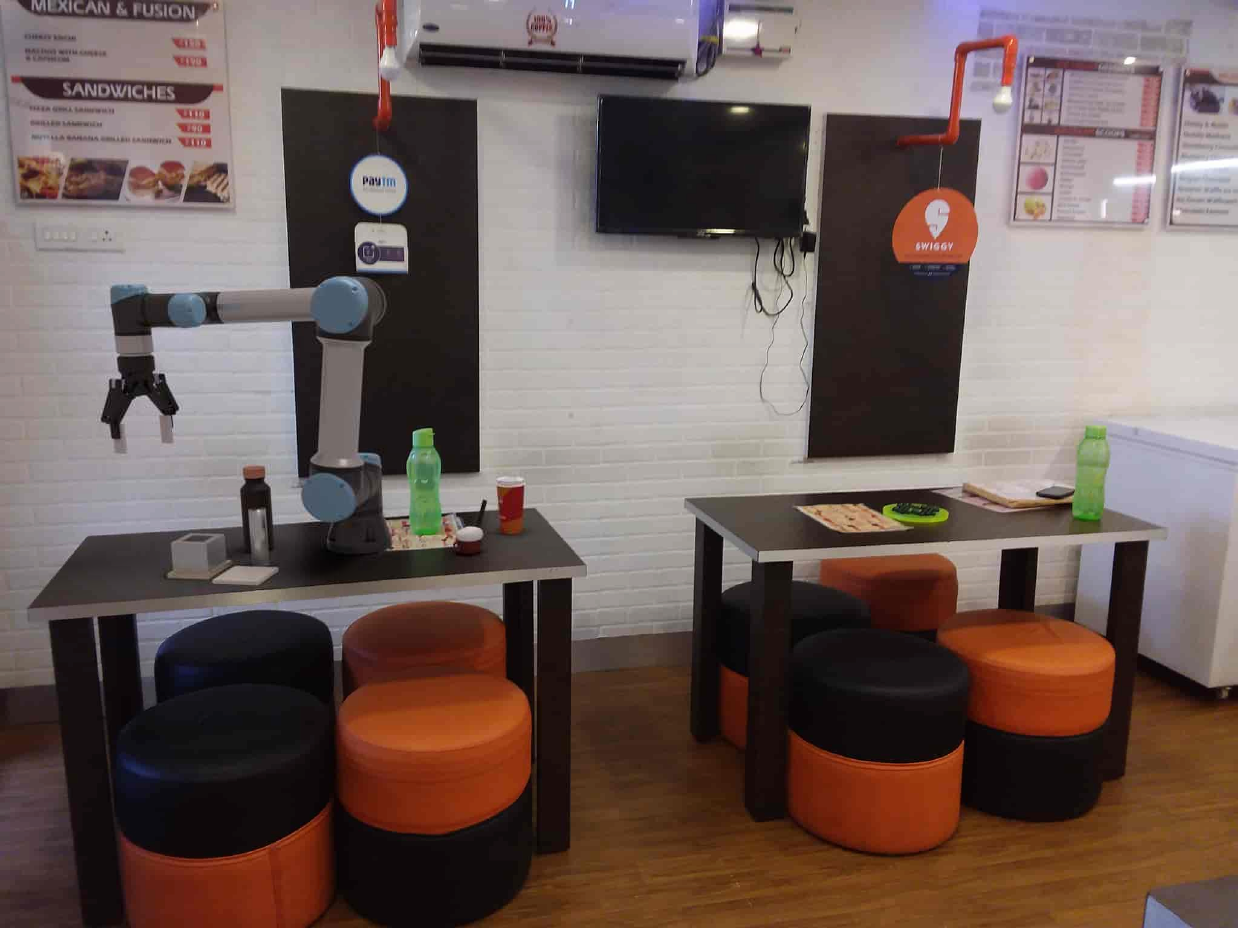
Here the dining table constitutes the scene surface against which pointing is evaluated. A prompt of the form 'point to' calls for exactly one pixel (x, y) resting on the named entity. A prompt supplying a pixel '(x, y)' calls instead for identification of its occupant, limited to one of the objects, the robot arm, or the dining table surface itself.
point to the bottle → (256, 502)
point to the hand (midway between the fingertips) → (145, 448)
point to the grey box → (198, 556)
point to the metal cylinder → (258, 537)
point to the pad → (245, 575)
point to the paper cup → (510, 504)
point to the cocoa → (471, 535)
